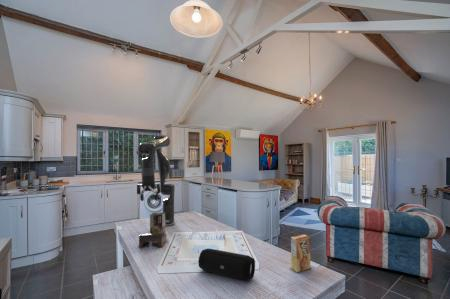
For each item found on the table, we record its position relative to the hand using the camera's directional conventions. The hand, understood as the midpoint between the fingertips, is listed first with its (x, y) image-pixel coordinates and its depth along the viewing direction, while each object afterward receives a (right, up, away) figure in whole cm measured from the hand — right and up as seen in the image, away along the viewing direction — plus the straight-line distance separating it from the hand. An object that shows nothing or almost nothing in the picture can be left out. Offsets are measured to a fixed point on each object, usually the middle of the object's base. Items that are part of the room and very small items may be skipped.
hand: (149, 200), depth 135 cm
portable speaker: (+48, -27, -34) cm, 65 cm away
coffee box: (+1, -29, +15) cm, 33 cm away
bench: (+2, -28, +2) cm, 28 cm away
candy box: (+85, -26, -30) cm, 94 cm away
